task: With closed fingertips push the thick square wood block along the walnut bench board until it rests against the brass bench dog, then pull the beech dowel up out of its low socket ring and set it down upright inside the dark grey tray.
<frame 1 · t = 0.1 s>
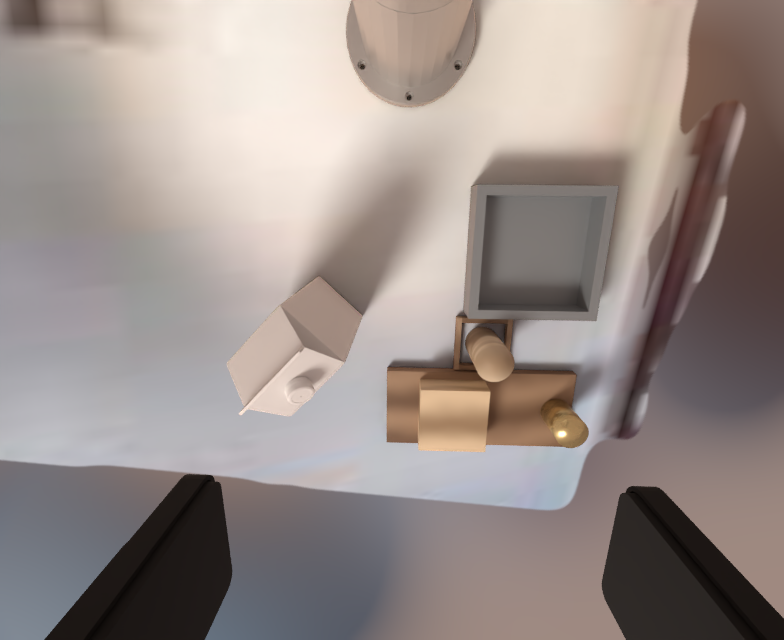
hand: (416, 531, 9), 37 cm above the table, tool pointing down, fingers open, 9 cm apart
tray: (528, 252, 43), on the table
bench board: (476, 405, 48), on the table
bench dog: (563, 422, 45), on the bench board, point 4 cm above the table
milk carton: (322, 315, 46), on the table
thick square wood block: (450, 409, 47), point 1 cm above the table, touching bench board
dowel: (481, 342, 46), resting in socket ring
socket ring: (481, 342, 46), on the table
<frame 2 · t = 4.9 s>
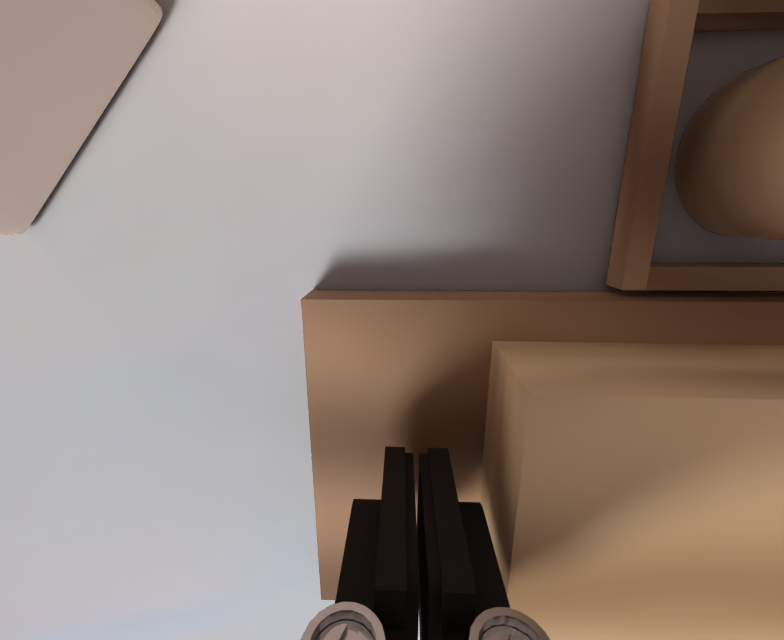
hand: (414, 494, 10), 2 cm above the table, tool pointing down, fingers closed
bench board: (687, 449, 12), on the table
thick square wood block: (623, 476, 11), point 1 cm above the table, touching gripper
dowel: (758, 155, 9), resting in socket ring
socket ring: (759, 155, 9), on the table
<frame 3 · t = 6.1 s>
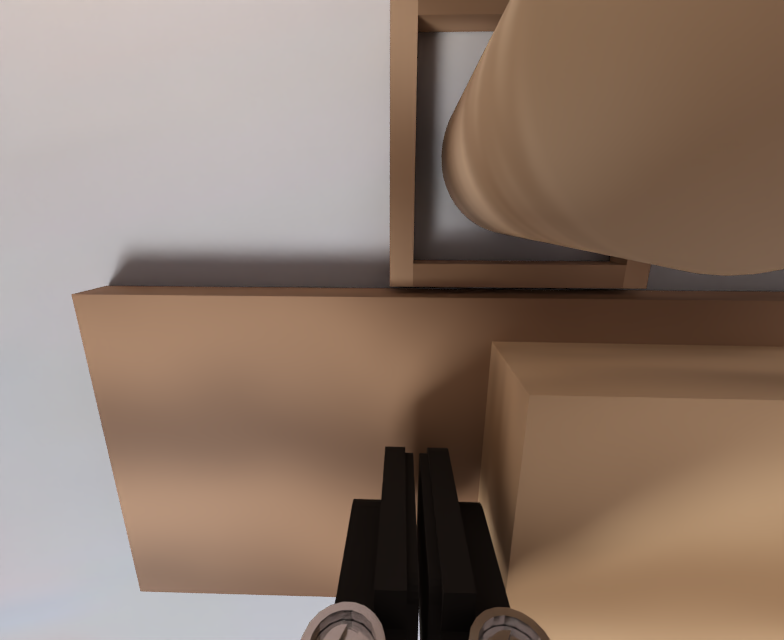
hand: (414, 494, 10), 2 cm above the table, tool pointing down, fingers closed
bench board: (494, 444, 12), on the table
thick square wood block: (620, 476, 11), point 1 cm above the table, touching bench board, gripper
dowel: (519, 154, 10), resting in socket ring
socket ring: (519, 154, 10), on the table
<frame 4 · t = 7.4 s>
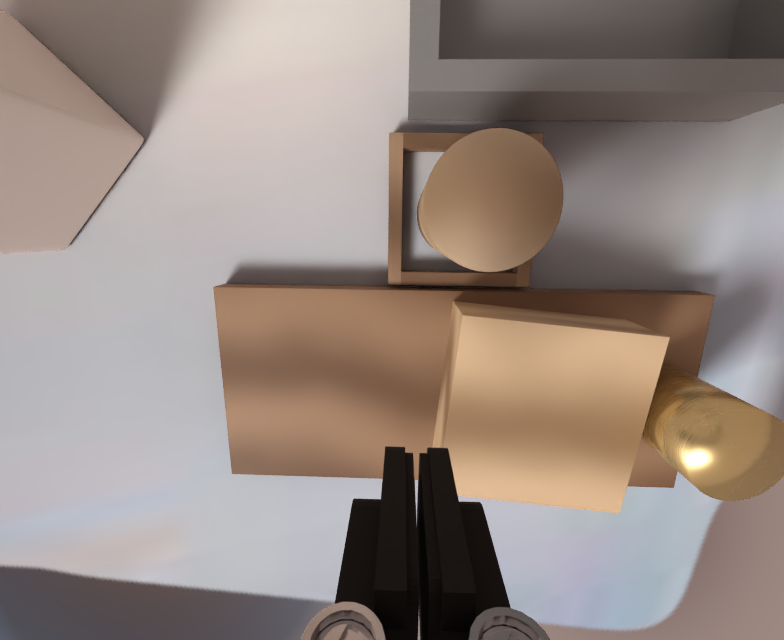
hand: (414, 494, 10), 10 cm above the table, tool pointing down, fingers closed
bench board: (450, 382, 20), on the table
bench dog: (688, 422, 16), on the bench board, point 4 cm above the table
milk carton: (48, 143, 18), on the table
thick square wood block: (523, 390, 18), point 1 cm above the table, touching bench board
dowel: (459, 213, 18), resting in socket ring
socket ring: (459, 213, 18), on the table
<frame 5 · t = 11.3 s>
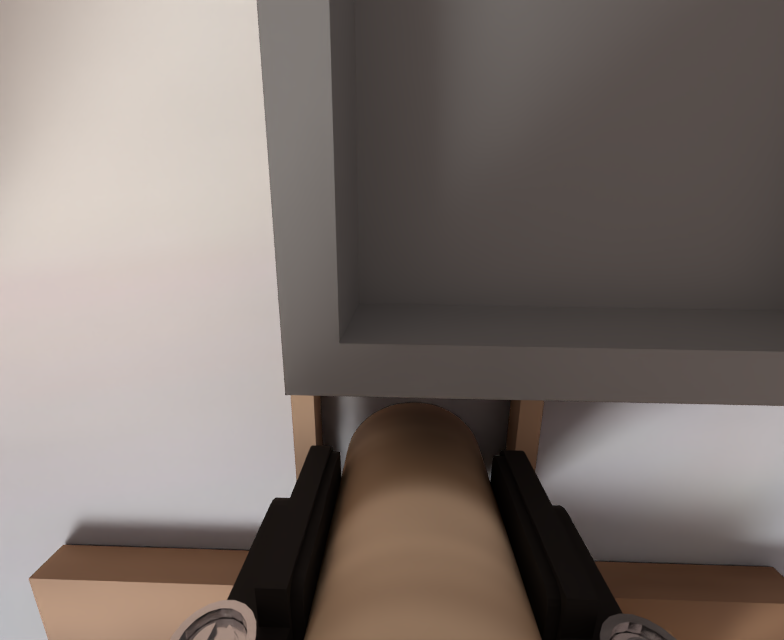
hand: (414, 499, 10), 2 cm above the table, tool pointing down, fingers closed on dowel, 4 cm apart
tray: (632, 33, 8), on the table
dowel: (413, 462, 11), resting in socket ring, touching gripper
socket ring: (413, 462, 11), on the table
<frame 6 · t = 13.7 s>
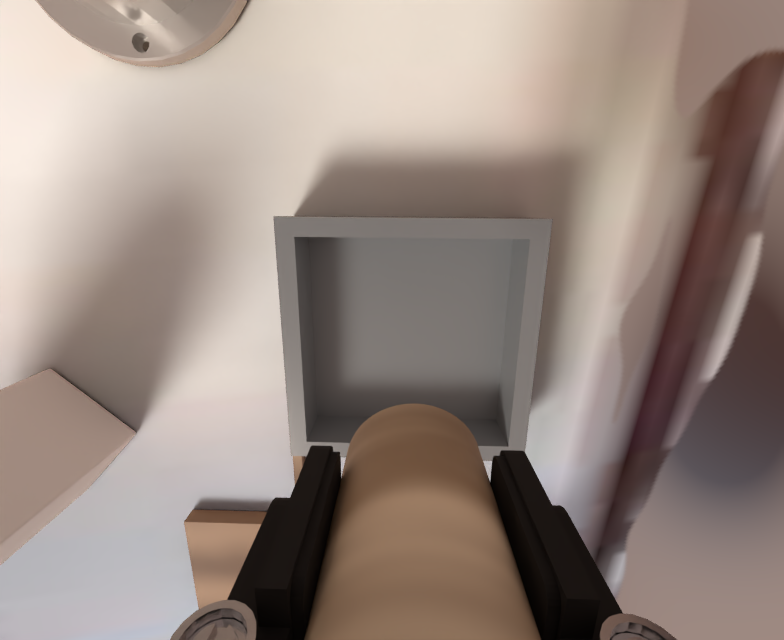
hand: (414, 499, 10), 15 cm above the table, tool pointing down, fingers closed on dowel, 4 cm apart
tray: (408, 329, 24), on the table
bench board: (345, 566, 30), on the table
milk carton: (73, 429, 27), on the table
dowel: (413, 463, 11), point 13 cm above the table, touching gripper
when the fingers open (4 cm above the table, at t = 16.0 s): dowel drops 1 cm, resting on tray.
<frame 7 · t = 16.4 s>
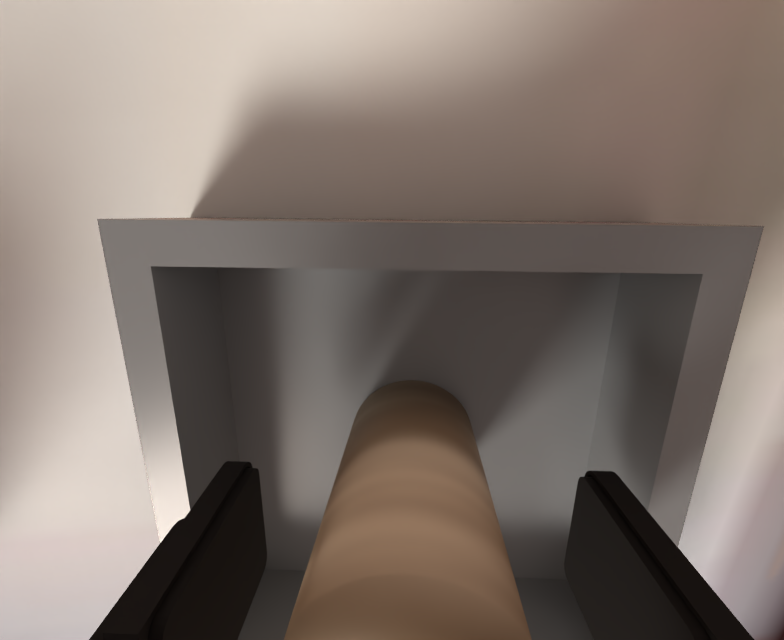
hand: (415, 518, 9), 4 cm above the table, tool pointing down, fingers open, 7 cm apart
tray: (411, 425, 13), on the table
dowel: (411, 436, 13), point 1 cm above the table, touching tray
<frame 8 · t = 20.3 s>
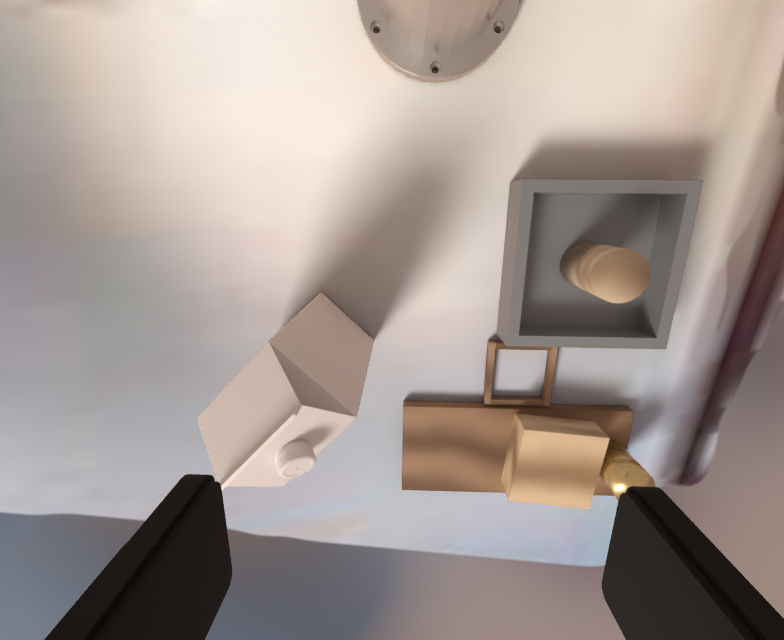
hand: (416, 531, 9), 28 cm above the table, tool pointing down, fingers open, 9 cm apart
tray: (578, 263, 35), on the table
bench board: (510, 445, 40), on the table
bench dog: (619, 470, 36), on the bench board, point 4 cm above the table
milk carton: (325, 339, 38), on the table
thick square wood block: (546, 451, 39), point 1 cm above the table, touching bench board
dowel: (582, 263, 34), point 1 cm above the table, touching tray
socket ring: (518, 372, 38), on the table
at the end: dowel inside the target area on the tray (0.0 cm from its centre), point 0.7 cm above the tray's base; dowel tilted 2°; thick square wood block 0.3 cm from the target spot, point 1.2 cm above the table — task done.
